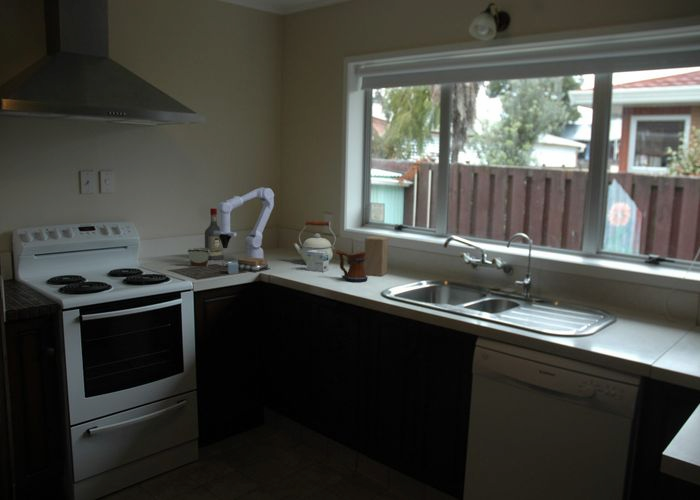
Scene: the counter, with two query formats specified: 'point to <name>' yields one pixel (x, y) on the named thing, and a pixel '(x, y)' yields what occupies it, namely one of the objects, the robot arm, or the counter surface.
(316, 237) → the kettle
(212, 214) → the liquor
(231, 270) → the block
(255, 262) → the slab
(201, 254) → the food container
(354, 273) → the mug
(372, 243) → the wooden block
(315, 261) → the light bulb box
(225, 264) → the roller track
